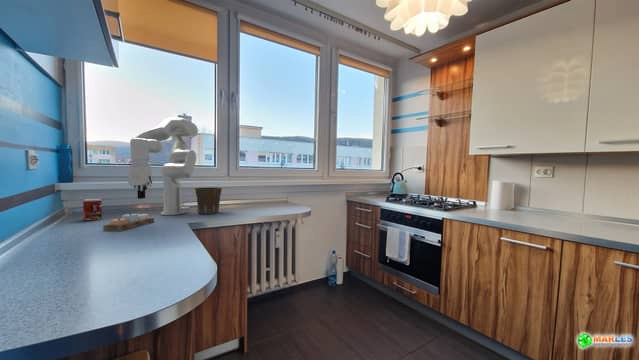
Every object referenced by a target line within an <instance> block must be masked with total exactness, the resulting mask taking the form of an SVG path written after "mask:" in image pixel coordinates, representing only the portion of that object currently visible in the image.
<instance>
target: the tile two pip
mask: <svg viewBox="0 0 639 360" xmlns="http://www.w3.org/2000/svg"><path fill="white" fill-rule="evenodd" d="M139 214H140V213H127V214H122V215H121V219H128V222H135V221H139Z"/></svg>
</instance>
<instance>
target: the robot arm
mask: <svg viewBox="0 0 639 360" xmlns="http://www.w3.org/2000/svg"><path fill="white" fill-rule="evenodd" d="M198 132H199V129H198V126H197V125H196V124H195V123H193V122H192V121H191V120H189V119H186V118H183V117H167V118H165V119H163V120H162V122H160V123H159V124H158V125H157V126H156V127H154V128H151V129H149V130H146V131H143V132H141V133H139V134H137V136H135V137H133V138H131V139H130V144H129V145H130V147H129V148H130V160H129V163H130V165H129V167H128V175H127V179H128V181H127V182H128V185H130V187H132V188H134V189H135V191H136V192H137V200H138V199H139V200H142V199H146V191H147V189H148V188H151V187H152V184H153V175H152V174H153V173H152V168H151V165H150V160H149V159H150V156H149V155H150V154H158V153H160V152H161V151H162V150H163V145H162V143H161V142H163V141H168V140H169V139H170V138H171V139H172V147H171V148H170V152H169V155H168V161H169V162H170V163H169V162H168V163H165V164H163V165H162V166H161V169H160V170H161V177H162V182H163V183H162V184H163V186H162V187H163V197H162V198H163V211H161V212H160V215H163V216H174V215H176V216H177V215H181V214H184V213H185V211H189V210H190V206H183V205H182V186H181V183H180V181H179V180H180V179H181V180H182V179H183V180H184V179H190V178H191V177H192V176H193V173H194V170H195V165H196V163H197V153H196V151H194V150H193V149H189V148H188V143H187V142H186V140H185V139H184V137H185V138H187V137H190V138H191V137H193V138H194V137H196V136H197V135H198Z"/></svg>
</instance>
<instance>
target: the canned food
mask: <svg viewBox="0 0 639 360" xmlns="http://www.w3.org/2000/svg"><path fill="white" fill-rule="evenodd" d="M82 201H83V202H82V207H83V220H84V219H98V218H101V219H102V218H103V202H102V198H87V199H85V198H84V199H83V200H82Z"/></svg>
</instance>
